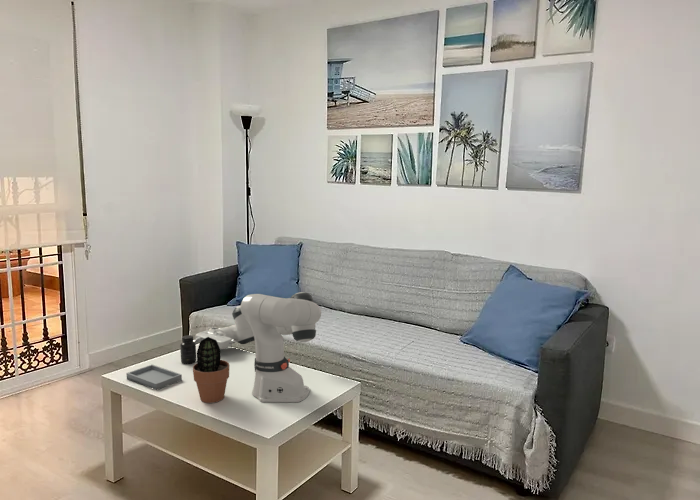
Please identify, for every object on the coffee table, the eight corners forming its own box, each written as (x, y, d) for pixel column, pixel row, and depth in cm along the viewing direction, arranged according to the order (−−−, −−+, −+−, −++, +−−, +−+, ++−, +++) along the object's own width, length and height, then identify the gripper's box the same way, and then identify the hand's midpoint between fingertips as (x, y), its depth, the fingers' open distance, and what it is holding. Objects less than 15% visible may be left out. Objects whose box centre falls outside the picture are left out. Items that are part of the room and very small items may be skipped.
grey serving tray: (181, 380, 224) (181, 374, 224) (156, 390, 214) (156, 384, 214) (152, 369, 236) (152, 364, 235) (126, 378, 226) (126, 373, 225)
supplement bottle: (181, 359, 248) (180, 334, 246) (197, 359, 250) (196, 334, 248) (180, 365, 242) (178, 339, 240) (195, 364, 243) (194, 338, 241)
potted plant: (237, 395, 210) (236, 333, 206) (213, 408, 198) (211, 343, 194) (211, 388, 216) (208, 328, 212) (186, 401, 204) (183, 337, 201)
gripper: (237, 347, 256) (214, 355, 245) (209, 339, 268) (186, 346, 257) (237, 334, 255) (214, 342, 244) (209, 327, 267) (186, 333, 256)
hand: (199, 344), depth 250 cm, fingers open, 8 cm apart
